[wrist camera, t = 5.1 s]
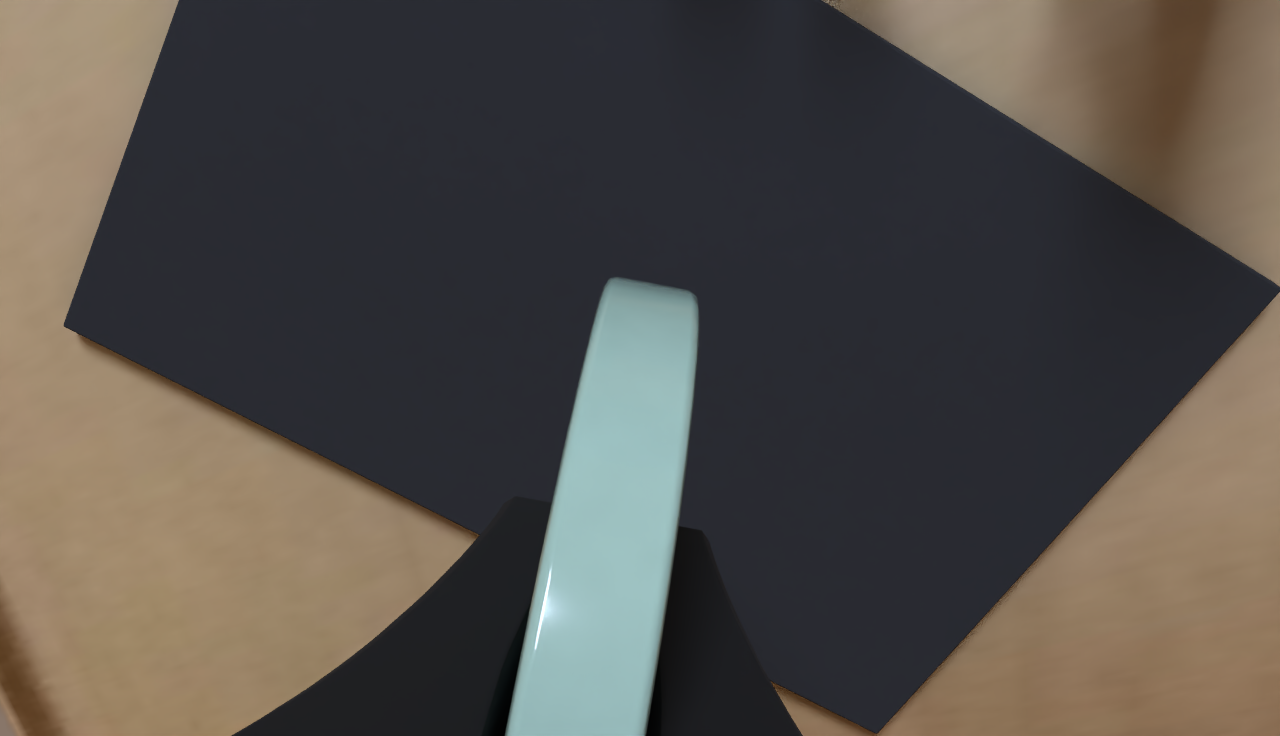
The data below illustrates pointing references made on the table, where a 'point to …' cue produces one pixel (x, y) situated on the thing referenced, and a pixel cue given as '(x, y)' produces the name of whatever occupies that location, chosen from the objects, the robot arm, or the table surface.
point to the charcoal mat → (672, 256)
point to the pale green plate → (612, 521)
